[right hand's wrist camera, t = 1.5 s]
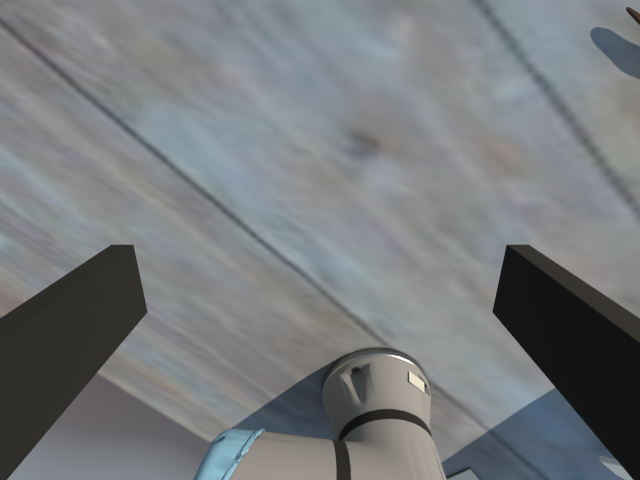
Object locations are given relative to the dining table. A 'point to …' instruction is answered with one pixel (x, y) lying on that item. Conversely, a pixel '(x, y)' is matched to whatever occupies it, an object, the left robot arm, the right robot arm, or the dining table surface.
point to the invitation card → (464, 476)
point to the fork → (634, 14)
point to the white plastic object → (615, 467)
